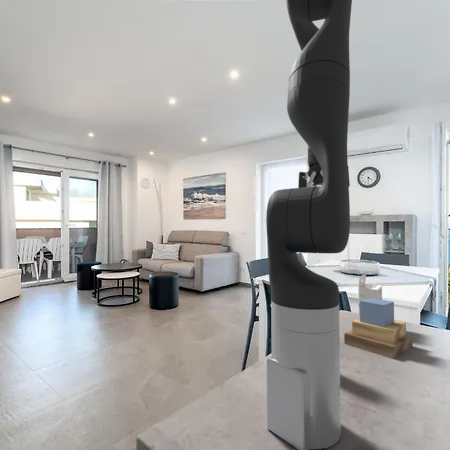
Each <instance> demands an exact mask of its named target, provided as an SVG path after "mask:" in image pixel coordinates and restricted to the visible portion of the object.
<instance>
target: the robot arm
mask: <svg viewBox="0 0 450 450" xmlns="http://www.w3.org/2000/svg"><path fill="white" fill-rule="evenodd" d="M285 3H286V9H287V14H288V18H289V20H290V21H289V22H290V24H291V27H292V30H293V32H294V35H295V38H296V41H297V43H298V46H299V49H300V51H301V52H300V53H299V54H298V56H297V57H296V59H295V61H294V62H293V65H292V67H291V69H290V73H289V77H288V90H287V102H286V109H287V111H286V112H287V115H288V118H289V120H290V122H291V124H292V126H293V127H294V128H295V130H296V131H297V133H298V134H299V136H300V137H301V138H302V140H303V141H304V142H305V144H306V145H307V165H308V171H305V172H304V171H300V172H298V185H297V186H298V187H295V188H294V187H293V188H284V189H277V190H275V191H274V192H272V194H271V195H270V196H269V199H268V202H267V206H266V216H265V217H266V218H265V220H266V221H265V224H266V225H265V226H266V239H267V241H266V242H267V254H268V256H267V258H268V259H267V260H268V279H269V280H268V281H269V286H270V300H271V301H270V302H271V303H270V305H271V308H270V309H271V311H270V313H271V315H270V316H271V318H270V319H271V323H270V324H271V328H270V329H271V356H269V357H268V358H267V359H266V428H267V429H268V430H270V431H271V432H272V433H274V434H276V436H278V437H279V438H281V439H282V440H284V441H285V442H287V443H288V444H289V445H291V446H292V447H294V448H295V449H297V450H309V449H310V450H321V449H322V448H323V449H327V448H330V447H332V446H334V445H335V444H336V443H338V442H339V440H340V439H341V436H342V409H341V408H342V406H341V404H342V402H341V353H340V352H341V350H340V349H341V347H340V345H341V343H340V339H341V338H340V289H339V285H338V284H337V282H336V281H334V280H332V279H330V278H328V277H325V276H323V275H321V274H319V273H316V272H315V271H312V270H311V269H310V268H308V267H307V266H306V265H304V264H303V263H302V262H301V261H300V260H299V257H298V253H299V254H300V253H301V254H340V253H341V252H343V251H345V250H346V248H347V246H348V243H349V238H350V231H351V229H350V228H351V209H350V208H351V206H350V188H349V187H350V185H351V184H350V171H349V169H350V167H349V165H348V163H349V161H348V128H349V110H350V93H351V91H350V90H351V89H350V88H351V86H350V85H351V71H350V70H351V66H350V64H351V63H350V28H351V27H350V26H351V16H352V15H351V13H352V7H353V6H352V3H353V0H285ZM322 20H324V21H323V23H322V25H321V26H320V27H319V28H318V26H317V25H316V24H315V23H314V22H317V21H322Z"/></svg>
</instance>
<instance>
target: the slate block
mask: <svg viewBox="0 0 450 450" xmlns="http://www.w3.org/2000/svg"><path fill="white" fill-rule="evenodd" d="M394 320H395V302H394V301H392V300H386V299H382V300H380V299H375V298H368V299H365V300H361V301H360V322H363V323H368V324H372V325H376V326H380V327H386V326H388V325H391V324H393V323H394Z"/></svg>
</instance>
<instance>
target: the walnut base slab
mask: <svg viewBox="0 0 450 450" xmlns="http://www.w3.org/2000/svg"><path fill="white" fill-rule="evenodd" d="M343 336H344V337H343V338H344V344H345V345H348V346H351V347H354V348H358V349H360V350H363V351H366V352H370V353H373V354H377V355H380V356H383V357H387V358H389V359H392V360H393V359H395V358H396V357H398V356H400V355H402V354H403V353H405V352H406V351H407V350H409V349H410V348H412V347H413V335H412V334H411V335H410V334H406V335H405V336H403V337H402V338H401V339H399V340H398V341H397V342H395V343H394V344H390V343H386V342H382V341H378V340H374V339H371V338H367V337H363V336H359V335H355V334H352V330H349V331H347V332H344V333H343Z"/></svg>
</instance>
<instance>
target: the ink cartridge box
mask: <svg viewBox="0 0 450 450" xmlns="http://www.w3.org/2000/svg"><path fill="white" fill-rule="evenodd" d="M366 276H367V274H366V273H365V274H363V275H361V276H359V279H358V318H360V301H361V300H365V299H368V298H375V299H380V300H383V285H380V284H366Z"/></svg>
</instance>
